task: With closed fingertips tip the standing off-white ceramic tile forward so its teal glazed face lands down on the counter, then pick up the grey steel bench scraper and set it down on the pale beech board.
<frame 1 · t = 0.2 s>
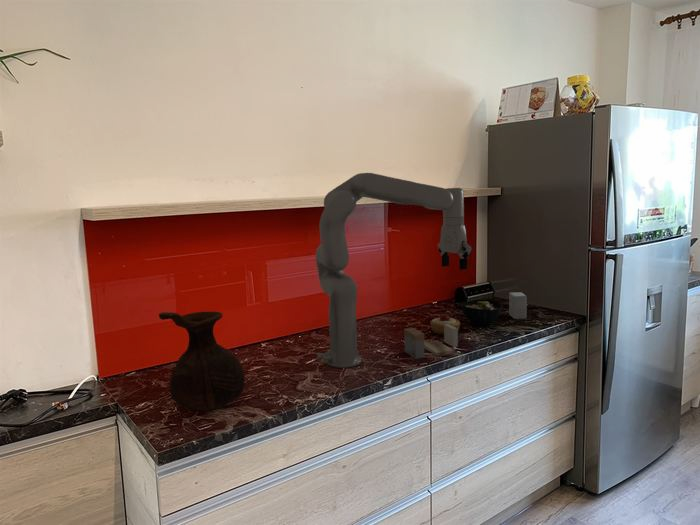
hand: (454, 267, 197), 30 cm above the worktop, fingers open, 9 cm apart
board: (436, 349, 197), on the worktop
pastry: (445, 332, 219), on the worktop
bowl: (481, 324, 229), on the worktop
jug: (208, 404, 155), on the worktop
tile: (450, 344, 203), on the worktop
small box: (517, 317, 239), on the worktop
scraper: (414, 354, 192), on the worktop
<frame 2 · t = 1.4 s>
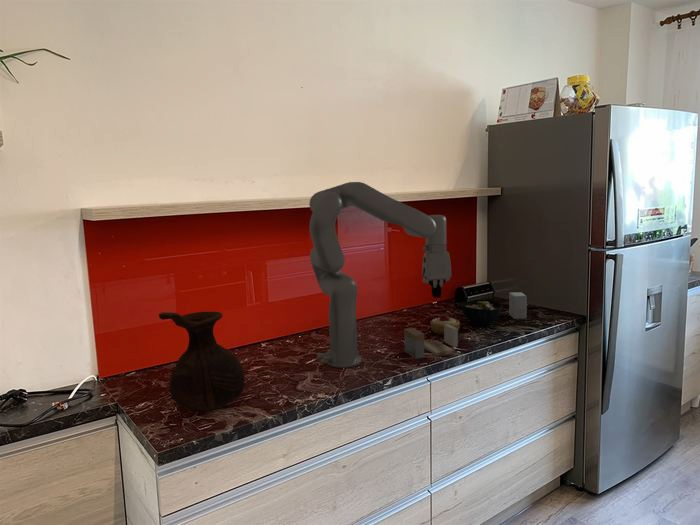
hand: (436, 297, 198), 19 cm above the worktop, fingers closed
nothing on the worktop moved.
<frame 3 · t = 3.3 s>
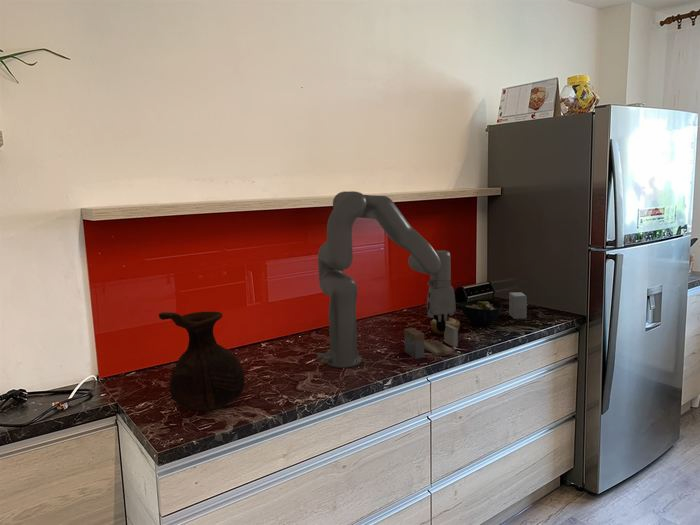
hand: (441, 330, 201), 6 cm above the worktop, fingers closed
nothing on the worktop moved.
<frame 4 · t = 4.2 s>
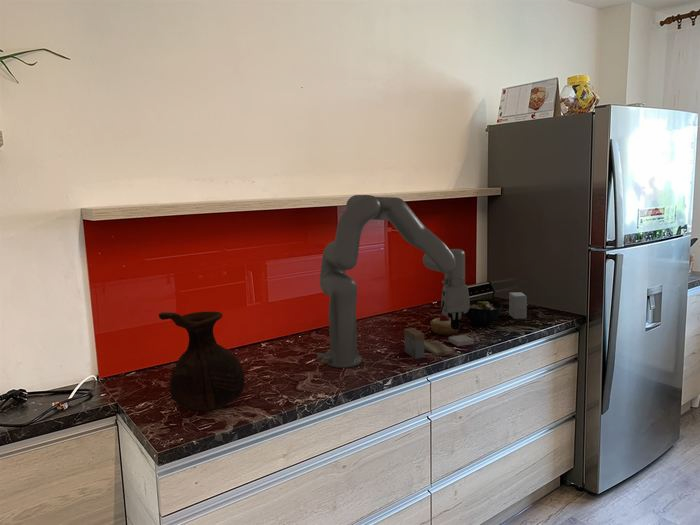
hand: (455, 328, 203), 6 cm above the worktop, fingers closed
tile: (453, 341, 203), point 1 cm above the worktop, tilted 90°
everything else where it was.
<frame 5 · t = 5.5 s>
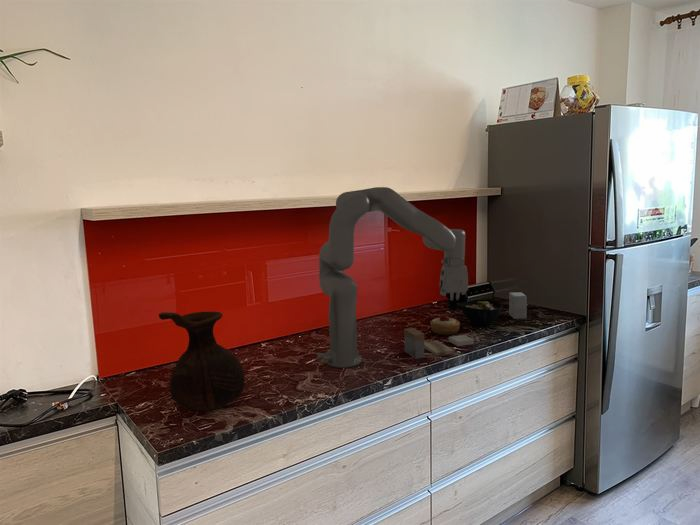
hand: (452, 309, 201), 13 cm above the worktop, fingers closed
nothing on the worktop moved.
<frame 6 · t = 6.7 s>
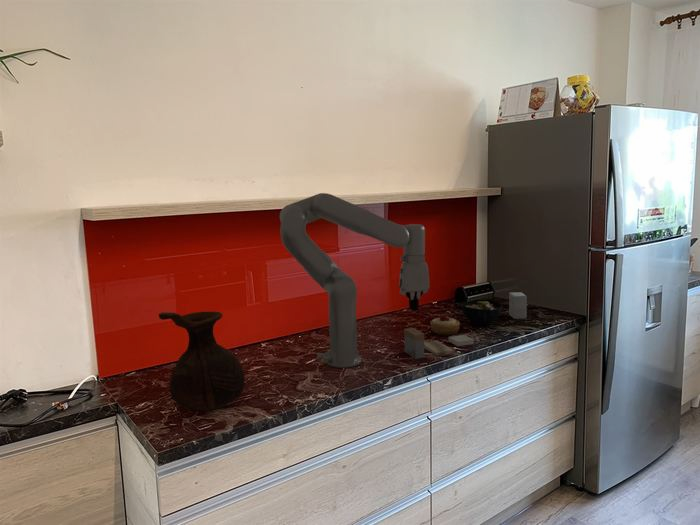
hand: (413, 309, 190), 17 cm above the worktop, fingers closed
nothing on the worktop moved.
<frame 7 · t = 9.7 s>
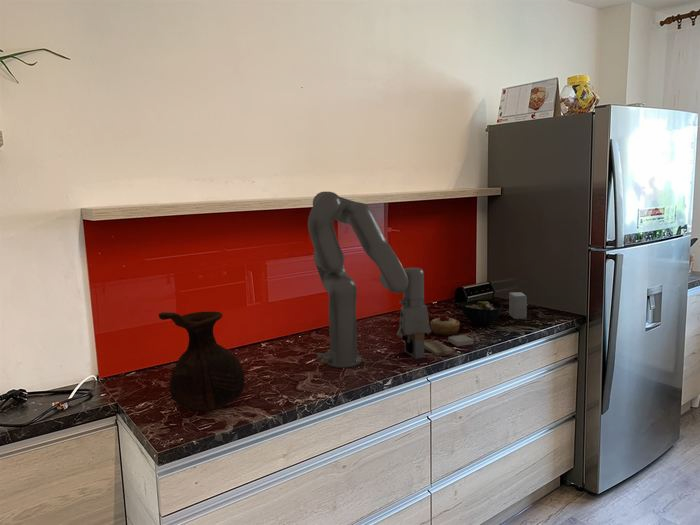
hand: (414, 350, 192), 1 cm above the worktop, fingers closed on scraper, 3 cm apart
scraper: (414, 354, 192), on the worktop, touching gripper
everything else where it was.
when the fingers open (4 cm above the worktop, at t = 14.7 s): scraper stays where it is, resting on board.
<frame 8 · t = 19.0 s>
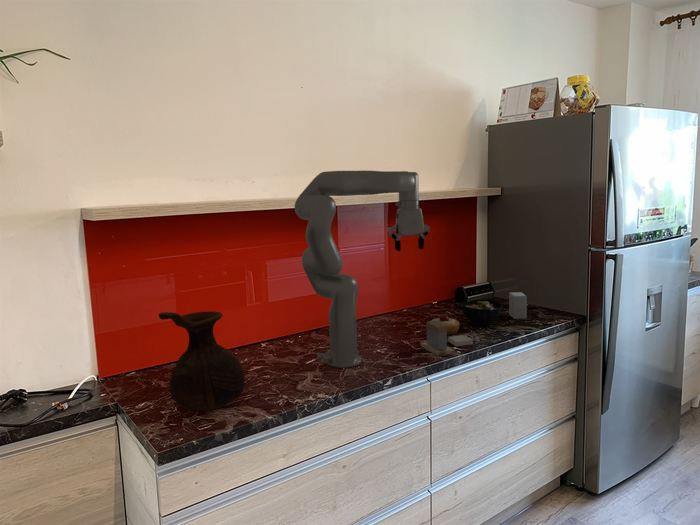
hand: (409, 249, 203), 36 cm above the worktop, fingers open, 9 cm apart
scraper: (436, 346, 197), point 1 cm above the worktop, touching board
at the end: tile tilted 90°; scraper inside the target area on the board (0.2 cm from its centre), point 1.2 cm above the board's base; the gripper is holding nothing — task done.
